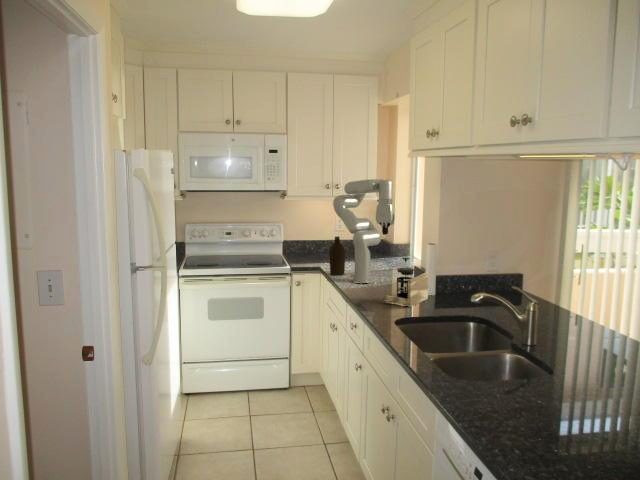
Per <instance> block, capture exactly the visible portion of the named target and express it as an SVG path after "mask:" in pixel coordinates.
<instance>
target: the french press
mask: <svg viewBox="0 0 640 480" xmlns="http://www.w3.org/2000/svg"><path fill="white" fill-rule="evenodd" d="M401 260H404V262H405V265H404V267H398V268H396V270H397V273H400V274H401V275H402V276H399V277H396V297H400V298H406V299H408V280H409V279H412V278H413V277H411V275H414V272H415V269H414V268H410V267H407V260H411V259H410V258H409V257H401ZM399 283H400V287H399ZM404 292H407V293H404Z"/></svg>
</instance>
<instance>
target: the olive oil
mask: <svg viewBox="0 0 640 480" xmlns="http://www.w3.org/2000/svg"><path fill="white" fill-rule="evenodd" d="M340 238H341V237H340V236H334V243H332V245H331V246H330V247H329V253H328V255H329V272H330V273H329V274H330V275H331V276H335V275H339V276H343V274H344V275H345V266H346V248H345V247H344V245H343V244H342V243H341V242H340V241H341V239H340Z"/></svg>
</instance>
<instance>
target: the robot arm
mask: <svg viewBox="0 0 640 480" xmlns="http://www.w3.org/2000/svg"><path fill="white" fill-rule="evenodd" d="M393 188H394V187H393V180H391V179H382V178H381V179H380V178H377V179H376V178H375V179H373V178H372V179H361V180H355V181H354V180H353V181H348V182H347V183H346V184H344V188H343V190H344V193H345V194H341V195H337V196H335V197H334V198H333V201H332V207H333V210H334V212H335V214H336V215H337V216H338V218H340V220H341V221H342V222H343V224H344V226H345V228H346V229H347V230H348V231H349V233H350V234H352V242H353V248H354V273H350V275H349V277H350V278H352V280H351V282H352V281H353V282H358V283H367V282H372V281H373V279H372V278H371V251H370V249H369V247H370V246H371V247H372V246H377V245H379V244H380V243H381V241H382V238H381V234H380V232H379V230H378V228H377V227H376V226H375V225H374V223H373V222H372V220H370V219H369V218H368V217H367V218H366V217H362V218H361V217H359V218H358V217H357V216H356V215H355V213H354V211H351V210H350V209H355V208H358V207H359V206H360V205H361V203H362V201H363V200H364V198H365V197H366V194H372V193H374V194H376V193H378V199H377V200H376V202H377V203H378V204H377V205H376V211H375V221H376V224H377V225H380V227H381V229H382V230H381V233H382V235H385V236H386V235H388V234H389V227H390V226H391V225H392V226H393V225H394V224H395V217H396V215H395V207H394V204H393ZM353 282H352V283H353ZM373 282H374V281H373ZM373 282H372V283H373Z"/></svg>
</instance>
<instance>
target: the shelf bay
mask: <svg viewBox="0 0 640 480" xmlns="http://www.w3.org/2000/svg"><path fill="white" fill-rule="evenodd" d="M411 278H412V279H409V280H408V279H407V281H408V299H406V298H400V297H397V296H394V295H393V296H392V295H387V294H384V295H383V302H384V301H388V302H393V303H398V304H403V305H408V306H412V305H414V304H417V303H419V302H420V303H422V302H424V301H426V300H428V298H429V272H424V273H421V274H419V275H417V276H415V277H411ZM404 293H407V292H404ZM420 303H419V304H420ZM417 305H418V304H417Z"/></svg>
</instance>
